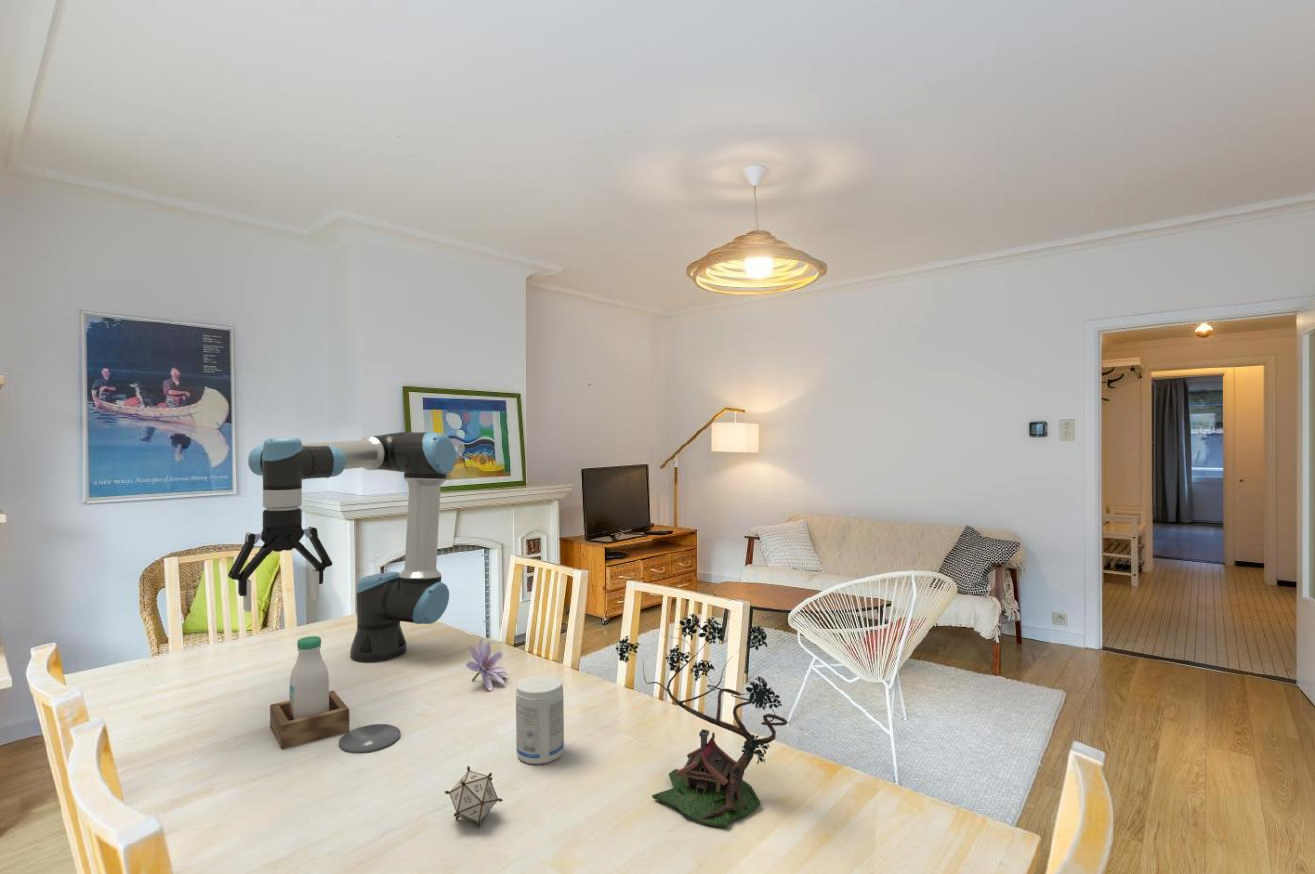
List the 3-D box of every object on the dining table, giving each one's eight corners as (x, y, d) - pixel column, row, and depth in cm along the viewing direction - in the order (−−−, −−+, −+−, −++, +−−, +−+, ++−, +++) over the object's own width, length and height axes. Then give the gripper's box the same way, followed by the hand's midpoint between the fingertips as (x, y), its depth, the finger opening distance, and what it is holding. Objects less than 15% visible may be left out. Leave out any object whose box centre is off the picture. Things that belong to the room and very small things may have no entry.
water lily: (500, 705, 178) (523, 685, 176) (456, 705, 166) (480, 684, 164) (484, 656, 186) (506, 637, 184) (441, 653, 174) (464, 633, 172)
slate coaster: (390, 721, 152) (390, 719, 152) (408, 741, 142) (408, 738, 142) (332, 737, 144) (332, 734, 144) (347, 758, 135) (347, 755, 135)
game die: (465, 837, 116) (453, 775, 121) (512, 817, 116) (499, 757, 121) (445, 839, 108) (433, 773, 113) (495, 818, 108) (482, 754, 113)
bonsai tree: (797, 769, 132) (799, 608, 131) (777, 841, 109) (779, 646, 108) (631, 740, 144) (632, 592, 143) (581, 800, 121) (582, 624, 120)
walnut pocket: (333, 711, 157) (333, 690, 157) (349, 731, 147) (349, 708, 147) (270, 727, 148) (270, 704, 148) (281, 749, 138) (281, 725, 138)
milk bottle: (336, 722, 151) (336, 633, 151) (315, 738, 143) (315, 645, 143) (303, 720, 152) (303, 632, 151) (281, 736, 144) (281, 643, 144)
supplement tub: (555, 739, 144) (556, 671, 143) (570, 759, 135) (570, 686, 135) (510, 748, 139) (510, 678, 139) (522, 770, 131) (522, 695, 131)
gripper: (334, 502, 160) (334, 591, 160) (211, 511, 142) (211, 612, 142) (347, 505, 154) (347, 597, 155) (221, 514, 136) (221, 619, 137)
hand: (282, 604), depth 148 cm, fingers open, 13 cm apart
